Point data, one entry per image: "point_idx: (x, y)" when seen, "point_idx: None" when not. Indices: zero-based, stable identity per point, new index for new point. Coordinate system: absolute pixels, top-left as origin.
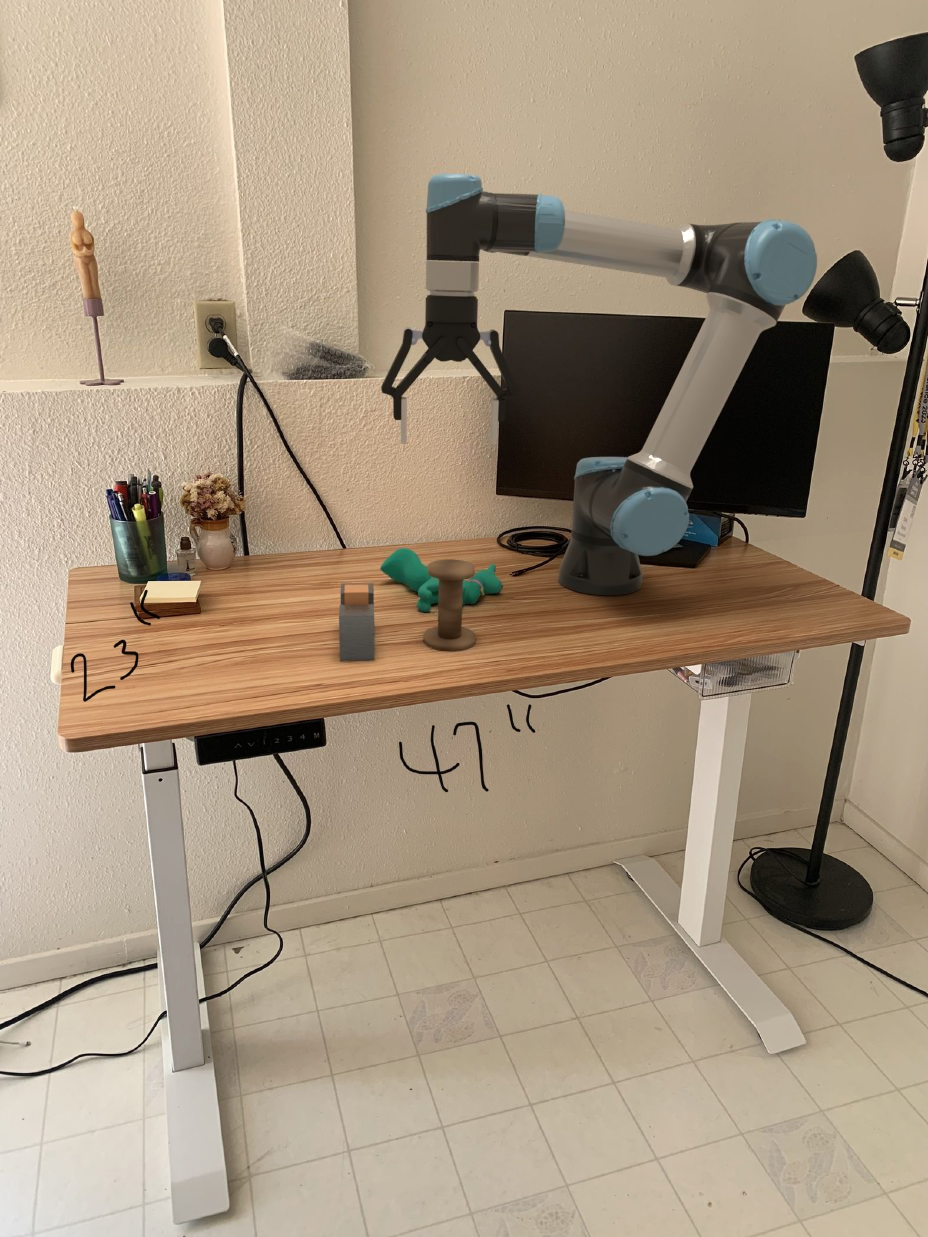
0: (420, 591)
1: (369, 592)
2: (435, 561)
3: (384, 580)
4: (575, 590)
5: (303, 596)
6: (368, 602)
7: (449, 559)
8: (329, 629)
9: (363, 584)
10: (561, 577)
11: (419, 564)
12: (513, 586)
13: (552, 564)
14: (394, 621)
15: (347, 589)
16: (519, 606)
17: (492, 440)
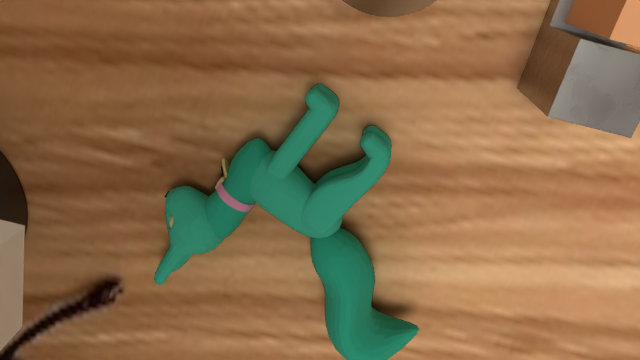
0: (388, 151)
1: (589, 46)
2: (423, 2)
3: None
4: (3, 157)
5: (596, 290)
6: (584, 38)
7: (370, 13)
8: None
9: (576, 115)
10: (17, 213)
11: (345, 282)
12: (134, 225)
13: None
14: (462, 97)
15: None
16: (155, 107)
17: (4, 238)
